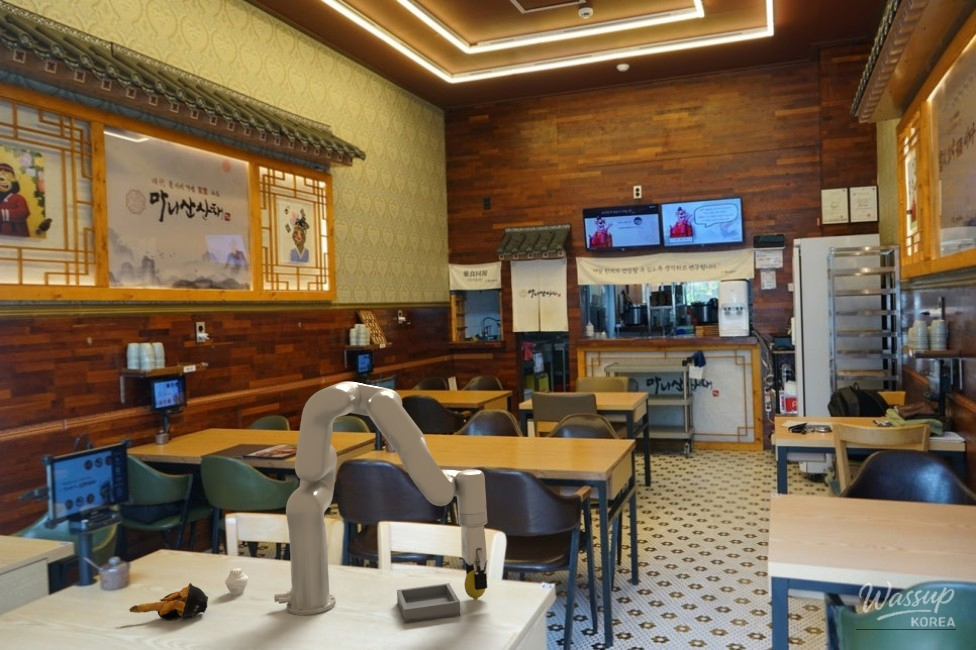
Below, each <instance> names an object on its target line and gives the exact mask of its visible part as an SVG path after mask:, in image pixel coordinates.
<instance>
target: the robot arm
mask: <svg viewBox="0 0 976 650" xmlns="http://www.w3.org/2000/svg"><path fill="white" fill-rule="evenodd" d="M301 413H302V414H301V420H300V425H299V433H298V437H297V439H298V440H297V445H296V446H297V447H296V453H295V459H294V470H295V474H296V475H297V477H298V478H299V479H300V480H299V487H297V489H295V490H294V491H293V492H292V493H291V494H290V496H289V497H288V500H287V503H286V505H285V517H286V522H287V528H288V535H289V553H290V554H289V555H290V575H291V576H290V577H291V579H290V580H291V587H290V591H286V593H275V594H274V597H273V598H274V599H273V601H274V603H277V602H278V604H286V606H285V607H286V610H287V612H288V613H290V614H293V615H298V616H306V615H308V616H309V615H316V614H320V613H323V612H326V611H329V610H330V609H332V608H333V607H334V606H336V597H335V596H334V595H332V594H330V581H329V579H330V578H329V577H330V576H329V561H328V556H329V555H328V538H327V537H328V536H327V526H326V522H325V512H326V511H327V509H328V508H329V507H330V506H331V503H332V501H333V497H334V492H335V491H334V490H335V483H336V473H337V465H338V455H337V451H336V449H335V448H334V446H333V445H332V439H333V438H332V437H333V429H334V421H335V420H336V419H337V418H339V417H344V416H346V415H348V414H350V413H351V414H355V415H361V416H367V417H369V418H370V420H371V421H372V423H373V424H374V425H375V427H376V428H377V429H378V430H379V432H380V433H381V434H382V436H383V437H384V439H385V440H386V442H388V443H389V445H390V446H391V448H392V449H393V450H394V452H395V453H396V455H397V457H398V458H399V461H400V462H401V464H402V465H403V467H404V469H405V470H406V472H407V473H408V476H409V477H410V479H411V480H412V481H413V483H414V484H415V486H416V487H417V488H418V490H419V491H420V492H421V493H422V495H423V496H424V498H426V500H427V501H428V502H429V503H431V504H432V505H435V506H438V507H443V506H446V505H448V504H449V503H451V501H452V500H454V497H456V499H457V514H458V526H460V527H461V528H460V529H461V530H460V533H461V534H460V540H461V541H460V542H461V543H460V544H461V545H460V546H461V548H460V550H461V557H462V559H463V560H464V561H465V570H466V572H465V575H466V576H467V574H468V573H469V572H471V571H473V570H475V574H474V584H475V589H476V590H480V589H485V590H486V589H487V588H488V576H487V574H488V573H487V568H486V563H487V561H488V560H487V559H488V558H487V557H488V556H487V555H488V554H487V541H486V540H487V539H486V532H485V531H486V530H485V525H487V524H488V515H487V514H488V512H487V496H486V479H485V477H486V476H485V474H484V472H483V471H482V470H479V469H465V470H453V469H441V468H440V466H439V465H438V463H437V462H436V460H435V459H434V458H433V456H432V455H433V454H431V451H430V449H429V448H428V443H427V440H426V437H425V436H424V433H423V432H422V430H421V429H420V428H419V427H418V425H417V424H416V423H415V421H414V420H413V419H412V417H411V416H410V415H409V413H408V412H407V411H406V409H405V408H404V407H403V400H402V397H401V396H400V394H399V393H398V392H397V391H395V390H393V389H392V388H391V389H390V388H386V387H380V386H374V385H370V384H364V383H360V382H354V381H341V382H338V383H334V384H333V385H330V386H328V387H325V388H322V389H320V390H319V391H317V392H315V393H313V395H311V397H309V399H308V400H307V401H306V402H305V405H304V407H303V410H302V412H301ZM466 576H465V577H466Z"/></svg>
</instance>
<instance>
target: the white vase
mask: <svg viewBox="0 0 976 650" xmlns="http://www.w3.org/2000/svg"><path fill="white" fill-rule="evenodd" d="M224 581H225V582H224V583H225V585H226V587H227V589H228V592H230V594H231V595H233V594H237V595H241V594H243V593H244V592H245V589H246V587H247V585H248V582H249V577H248V575H246V574H245V572H244V570H243V568H240V567H235V568H233V569H231V570H230V571H229V574H228V576H227V578H225V580H224ZM240 593H241V594H240Z"/></svg>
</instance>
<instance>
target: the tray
mask: <svg viewBox="0 0 976 650" xmlns="http://www.w3.org/2000/svg"><path fill="white" fill-rule="evenodd" d="M396 601H397V606H398V609H399V612H400V614H401V617H402V620H403V623H404V624H406V625H407V624H413V623H414V624H415V623H421V622H427V621H435V620H441V619H448V618H454V617H455V618H456V617H461V615H462V614H461V601H460V599H459V597H458V596H457V594H456V593H455V591H454V588H452V585H451V584H450V582H448V583H440V584H432V585H425V586H417V587H416V586H415V587H409V588H402V589H401V588H399V589H397V590H396Z"/></svg>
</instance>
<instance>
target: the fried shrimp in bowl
mask: <svg viewBox="0 0 976 650" xmlns="http://www.w3.org/2000/svg"><path fill="white" fill-rule="evenodd" d="M208 601H209V596H207V595H206V593H205V592H204V591H203V590H202V589H201V588H200V587H197V586H195V585H193V584H192V582H190V583H189V584H188V585H187V586H185V587H183V588H181V590H179V591H175V592H171V593H169V594H167V595H165V596H164V597H163V598H161V599H159V601H156V602H155V601H154V602H148V603H147V602H145V603H141V604H139V605H136V604H135V605H133V606H131V607H130V608H129V612H130V613H135V614H136V613H137V614H140V613H149V612H157V615H158V617H160V619H162V620H164V621H174V620H178V619H179V620H180V621H181V620H183V619H189V618H190V619H192V618H194V617H196V616H198V615H199V614H201V613H205V612H206V611H207V608H208Z"/></svg>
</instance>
